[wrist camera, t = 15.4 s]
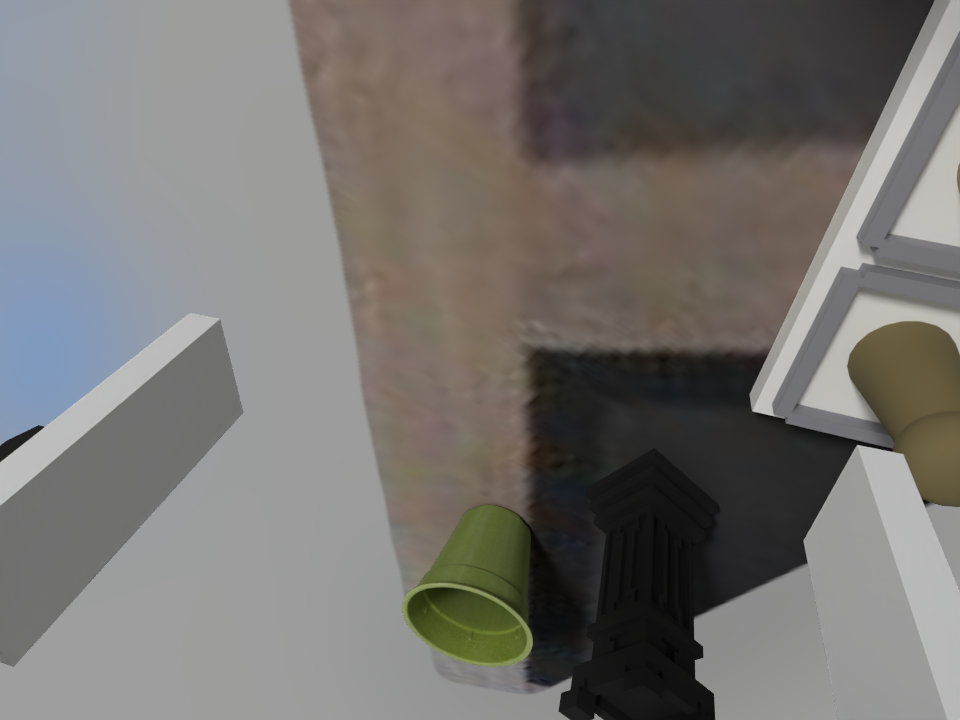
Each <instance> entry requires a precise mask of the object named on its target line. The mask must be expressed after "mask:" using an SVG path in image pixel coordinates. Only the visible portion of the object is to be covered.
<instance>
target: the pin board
mask: <svg viewBox="0 0 960 720" xmlns="http://www.w3.org/2000/svg"><path fill="white" fill-rule="evenodd" d="M902 321H921V322H925V323H929V324H933V325H936V326H938V327H940V328H941V329H943V330H944V331H946V332H947V333H949V335H950V336H951V337H952V339H953V340H954V342H955V343H956V346H957V348H958V351H959V354H960V0H935V1H934V3H933V5H932V7H931V9H930V12H929V14H928V16H927V18H926V20H925V22H924V24H923V27H922V29H921V31H920V33H919V35H918V37H917V39H916V41H915V44H914V46H913V48H912V50H911V52H910V54H909V56H908V58H907V61H906V63H905V65H904V67H903V69H902V71H901V73H900V75H899V78H898V80H897V82H896V84H895V86H894V88H893V90H892V93H891V95H890V97H889V99H888V101H887V103H886V105H885V107H884V110H883V112H882V114H881V116H880V118H879V120H878V122H877V124H876V127H875V129H874V131H873V133H872V135H871V137H870V139H869V141H868V144H867V146H866V148H865V150H864V152H863V154H862V156H861V159H860V161H859V163H858V165H857V167H856V169H855V171H854V173H853V176H852V178H851V180H850V182H849V184H848V186H847V188H846V190H845V193H844V195H843V197H842V199H841V201H840V203H839V205H838V208H837V210H836V212H835V214H834V216H833V218H832V220H831V222H830V225H829V227H828V229H827V231H826V233H825V235H824V237H823V239H822V242H821V244H820V246H819V248H818V250H817V252H816V254H815V256H814V259H813V261H812V263H811V265H810V267H809V269H808V271H807V274H806V276H805V278H804V280H803V282H802V284H801V286H800V288H799V291H798V293H797V295H796V297H795V299H794V301H793V303H792V305H791V308H790V310H789V312H788V314H787V316H786V318H785V320H784V322H783V325H782V327H781V329H780V331H779V333H778V335H777V337H776V340H775V342H774V344H773V346H772V348H771V350H770V352H769V354H768V357H767V359H766V361H765V363H764V365H763V367H762V369H761V371H760V374H759V376H758V378H757V380H756V382H755V384H754V386H753V388H752V391H751V393H750V400H751V407H752V411H754V412H758V413H762V414H766V415H771V416H775V417H779V418H783V419H785V422H786V423H787V424H791V425H795V426H799V427H804V428H808V429H812V430H816V431H820V432H825V433H829V434H833V435H837V436H842V437H846V438H850V439H854V440H858V441H863V442H867V443H871V444H875V445H880V446H884V447H888V448H892V449H893V447H894V443H895V442H894V441H893V440H892V438H891V437H890V435H889V434H888V432H887V431H886V429H885V428H884V427H883V425H882V424H881V422H880V421H879V419H878V418H877V416H876V415H875V414H874V412H873V411H872V409H871V408H870V406H869V405H868V403H867V402H866V400H865V399H864V398H863V396H862V395H861V393H860V392H859V390H858V389H857V387H856V386H855V385H854V383H853V382H852V380H851V379H850V377H849V373H848V368H847V364H848V360H849V355H850V353H851V352H852V350H853V348H854V347H855V345H856V344H857V343H858V342H859V341H860V340H861V339H862V338H864V337H865V336H866V335H867V334H868V333H870V332H872V331H874V330H876V329H878V328H880V327H882V326H885V325H888V324H893V323H897V322H902Z"/></svg>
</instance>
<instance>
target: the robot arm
mask: <svg viewBox="0 0 960 720" xmlns="http://www.w3.org/2000/svg"><path fill="white" fill-rule="evenodd" d="M242 413H243V409H242V406H241V402H240V397H239V393H238V390H237V385H236V381H235V377H234V373H233V369H232V365H231V361H230V357H229V353H228V349H227V345H226V341H225V337H224V334H223V329H222V325H221V321H220V319H217V318H212V317H207V316H202V315H197V314H192V313H190V314H188V315H187V316H186V317H184V318H183V319H182V320H181V321H179V322H178V323H177V324H175V325H174V326H173V327H172V328H170V329H169V330H168V331H166V332H165V333H164V334H163V335H161V336H160V337H159V338H158V339H156V340H155V341H154V342H152V343H151V344H150V345H149V346H147V347H146V348H145V349H144V350H142V351H141V352H140V353H138V354H137V355H136V356H135V357H133V358H132V359H131V360H130V361H128V362H127V363H126V364H125V365H124V366H122V367H121V368H119V369H118V370H117V371H116V372H115V373H113V374H112V375H111V376H109V377H108V378H107V379H105V380H104V381H103V382H102V383H101V384H99V385H98V386H97V387H95V388H94V389H93V390H91V391H90V392H89V393H88V394H86V395H85V396H84V397H83V398H81V399H80V400H79V401H78V402H76V403H75V404H74V405H72V406H71V407H70V408H69V409H67V410H66V411H65V412H64V413H62V414H61V415H60V416H59V417H57V418H56V419H55V420H53V421H52V422H51V423H50V424H48V425H47V426H46V427H43V426H39V425H38V426H36V427H34V428H32V429H30V430H28V431H26V432H24V433H22V434H20V435H18V436H16V437H14V438H12V439H9V440H7V441H6V442H4V443H3V444H2V445H1V446H0V662H1V663H4V664H7V665H10V666H13V667H14V666H15V665H16V663H17V662H18V661H19V660H20V659H21V658H22V657H23V656H24V655H25V654H26V652H27V651H28V650H29V649H30V648H31V647H32V646H33V645H34V643H35V642H36V641H37V640H38V639H39V638H40V637H41V636H42V635H43V633H44V632H45V631H46V630H47V629H48V628H49V627H50V626H51V625H52V624H53V622H54V621H55V620H56V619H57V618H58V617H59V616H60V615H61V614H62V613H63V611H64V610H65V609H66V608H67V607H68V606H69V605H70V604H71V603H72V602H73V600H74V599H75V598H76V597H77V596H78V595H79V594H80V593H81V592H82V590H83V589H84V588H85V587H86V586H87V585H88V584H89V583H90V582H91V580H92V579H93V578H94V577H95V576H96V575H97V574H98V573H99V572H100V571H101V569H102V568H103V567H104V566H105V565H106V564H107V563H108V562H109V560H110V559H111V558H112V557H113V556H114V555H115V554H116V553H117V552H118V551H119V549H120V548H121V547H122V546H123V545H124V544H125V543H126V542H127V541H128V539H129V538H130V537H131V536H132V535H133V534H134V533H135V532H136V531H137V530H138V528H139V527H140V526H141V525H142V524H143V523H144V522H145V521H146V520H147V518H148V517H149V516H150V515H151V514H152V513H153V512H154V511H155V509H157V507H158V506H159V505H160V504H161V503H162V502H163V501H164V500H165V499H166V497H167V496H168V495H169V494H170V493H171V492H172V491H173V490H174V489H175V488H176V486H177V485H178V484H179V483H180V482H181V481H182V480H183V479H184V478H185V476H186V475H187V474H188V473H189V472H190V471H191V470H192V469H193V468H194V467H195V465H196V464H197V463H198V462H199V461H200V460H201V459H202V458H203V457H204V455H205V454H206V453H207V452H208V451H209V450H210V449H211V448H212V447H213V445H214V444H215V443H216V442H217V441H218V440H219V439H220V438H221V437H222V435H223V434H224V433H225V432H226V431H227V430H228V429H229V428H230V427H231V425H232V424H233V423H234V422H235V421H236V420H237V419H238V418H239V417H240V416H241V414H242ZM804 545H805V551H806V556H807V561H808V566H809V571H810V576H811V582H812V587H813V592H814V597H815V603H816V608H817V613H818V619H819V623H820V629H821V634H822V639H823V645H824V650H825V655H826V660H827V666H828V671H829V676H830V681H831V686H832V692H833V697H834V702H835V707H836V712H837V717H838V720H960V591H959V589H958V586H957V584H956V581H955V579H954V577H953V575H952V572H951V569H950V567H949V565H948V562H947V560H946V557H945V555H944V552H943V550H942V547H941V545H940V543H939V540H938V538H937V535H936V533H935V530H934V528H933V525H932V523H931V520H930V518H929V516H928V513H927V511H926V508H925V506H924V503H923V501H922V499H921V496H920V494H919V491H918V489H917V486H916V484H915V481H914V479H913V477H912V474H911V472H910V469H909V467H908V464H907V462H906V460H905V457H904V455H903V454H900V453H895V452H890V451H885V450H880V449H875V448H870V447H865V446H860V445H857V446H856V448H855V450H854V452H853V453H852V455H851V457H850V459H849V460H848V462H847V464H846V466H845V468H844V469H843V471H842V473H841V475H840V477H839V478H838V480H837V482H836V484H835V486H834V487H833V489H832V491H831V493H830V494H829V496H828V498H827V500H826V502H825V503H824V505H823V507H822V509H821V511H820V512H819V514H818V516H817V518H816V520H815V521H814V523H813V525H812V527H811V528H810V530H809V532H808V534H807V536H806V537H805V539H804Z"/></svg>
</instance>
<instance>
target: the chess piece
mask: <svg viewBox="0 0 960 720" xmlns="http://www.w3.org/2000/svg"><path fill="white" fill-rule="evenodd" d="M585 495H586V496H587V497H588V498H589V499H591V500H592V502H590V508H589V509H590V510H591V511H592V512H594V513H595V514H596V515H597V516H595V519H594V524H595V525H596V526H597V527H598V528H600V529H601V530H602V531H603V532H604V533H606V542H605V550H604V559H603V567H602V576H601V584H600V593H599V602H598V610H597V619H596V623H594V624H591V625H589V626H588V627H587V635H586V636H587V637H588V638H590V639H591V640H592V641H594V644H593V653H592V660H590V661H587V662H584V663H581V664H579V665H576V666H574V669H573V677H572V684H571V690H569V691H566V692H563V693H562V694H561V700H560V706H559V712H561V713H562V714H563V715H565V716H566V717H567V718H569V719H570V720H592V719H594V713H595V714H597V715H598V716H599V717H601V718H602V719H604V720H715V707H714V694H713V693H712V692H711V691H710V690H708V689H707V688H706V687H704V686H703V685H702V684H700V683H699V682H698V681H697V680H696V679H695V660H697V659H700V658H703V647H702V646H701V645H700V644H699V643H698V642H696V641H695V640H694V614H693V574H692V545H694V544H696V543H699V542H701V541H703V540H705V539H706V531H705V530H703V529H705V528H707V527H709V526H712V525H713V523H712V517H711V516H710V515H713V514H715V513H717V512H719V508H718V504H717V503H716V502H715V501H714V500H712V499H711V498H710V497H709V496H708V495H707V494H706V493H705V492H703V491H702V490H701V489H700V488H699V487H698V486H697V485H695V484H694V483H693V482H692V481H691V480H690V479H689V478H688V477H686V476H685V475H684V474H683V473H682V472H681V471H680V470H678V469H677V468H676V467H675V466H674V465H673V464H672V463H671V462H669V461H668V460H667V459H666V458H665V457H664V456H663V455H661V454H660V453H659V452H658V451H657V450H656V449H655V448H654V449H653V450H651V451H649V452H647V453H646V454H644V455H642V456H641V457H639V458H637V459H636V460H634V461H632V462H630V463H629V464H627V465H625V466H624V467H622V468H620V469H618V470H617V471H615V472H613V473H612V474H610V475H608V476H607V477H605V478H603V479H601V480H600V481H598V482H596V483H595V484H593V485H591V486H589V487H588V488H586V492H585Z"/></svg>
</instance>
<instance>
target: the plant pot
mask: <svg viewBox="0 0 960 720" xmlns="http://www.w3.org/2000/svg"><path fill="white" fill-rule="evenodd" d="M530 545H531V533H530V530H529V528H528V526H526V525H525V524H524V523H523V521H522V520H521V519H520V517H519V516H518V515H517V514H515V513H513V512H512V511H510V510H508V509H505V508H502V507H499V506H494V505H481V506H479V507H477V508H473V509H469V510H468V511H467V512H466V513H465V514H464V515H463V517H462V519H461V520H460V522H459V523H458V525H457V527H456V528H455V530H454V532H453V533H452V535H451V537H450V538H449V540H448V542H447V543H446V545H445V547H444V548H443V550H442V551H441V553H440V555H439V556H438V558H437V560H436V561H435V563H434V564H433V566H432V568H431V569H430V571H428V572H427V573H426V574H425V575H424V577H423V578H422V580H421V581H420V583H419V585H418V586H417V587H415V588H413V589H412V590H410V591H409V592H408V593H407V594H406V596H405V597H404V599H403V602H402V613H403V616H404V619H405V621H406V623H407V624H408V626H409V627H410V628H411V630H412V631H413V632H414V633H415V635H416V636H418V637H419V638H420V639H421V640H422V641H423V642H425V643H426V644H427V645H429V646H430V647H432V648H433V649H435V650H436V651H438V652H440V653H442V654H445V655H446V656H448V657H451V658H453V659H455V660H458V661H461V662H464V663H468V664H472V665H478V666H486V667H500V666H508V665H512V664H515V663H518V662H519V661H521V660H523V659H524V658H526V657H527V656H528V654H529V653H530V651H531V649H532V645H533V637H532V633H531V630H530V628H529V626H528V618H529V612H528V606H527V597H528V579H529V562H530Z"/></svg>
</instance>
